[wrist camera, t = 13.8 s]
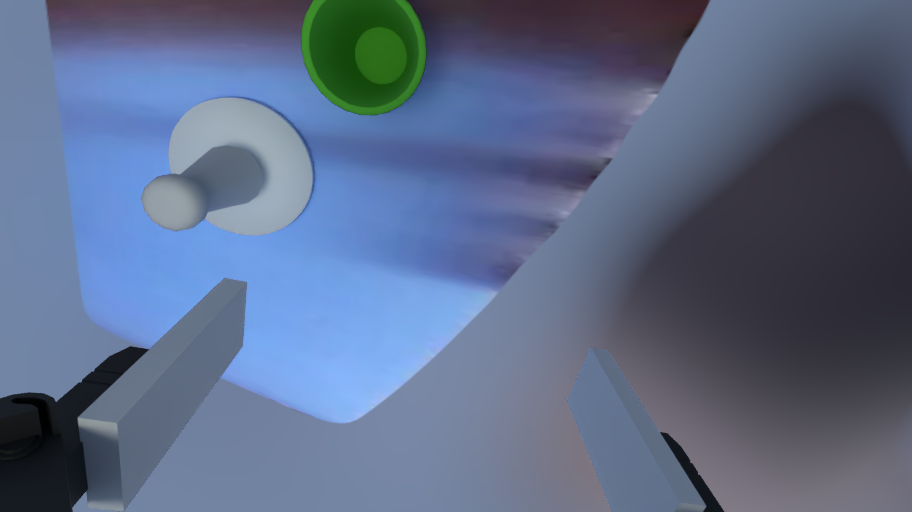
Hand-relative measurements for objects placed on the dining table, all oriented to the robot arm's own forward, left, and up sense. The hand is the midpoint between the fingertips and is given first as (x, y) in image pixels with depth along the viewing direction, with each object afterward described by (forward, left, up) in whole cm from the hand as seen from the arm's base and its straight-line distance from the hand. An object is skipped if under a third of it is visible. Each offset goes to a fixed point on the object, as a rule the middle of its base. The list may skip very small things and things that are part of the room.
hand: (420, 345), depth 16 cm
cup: (-1, -12, -32) cm, 34 cm away
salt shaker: (+17, -9, -31) cm, 36 cm away
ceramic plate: (+17, -9, -32) cm, 37 cm away
